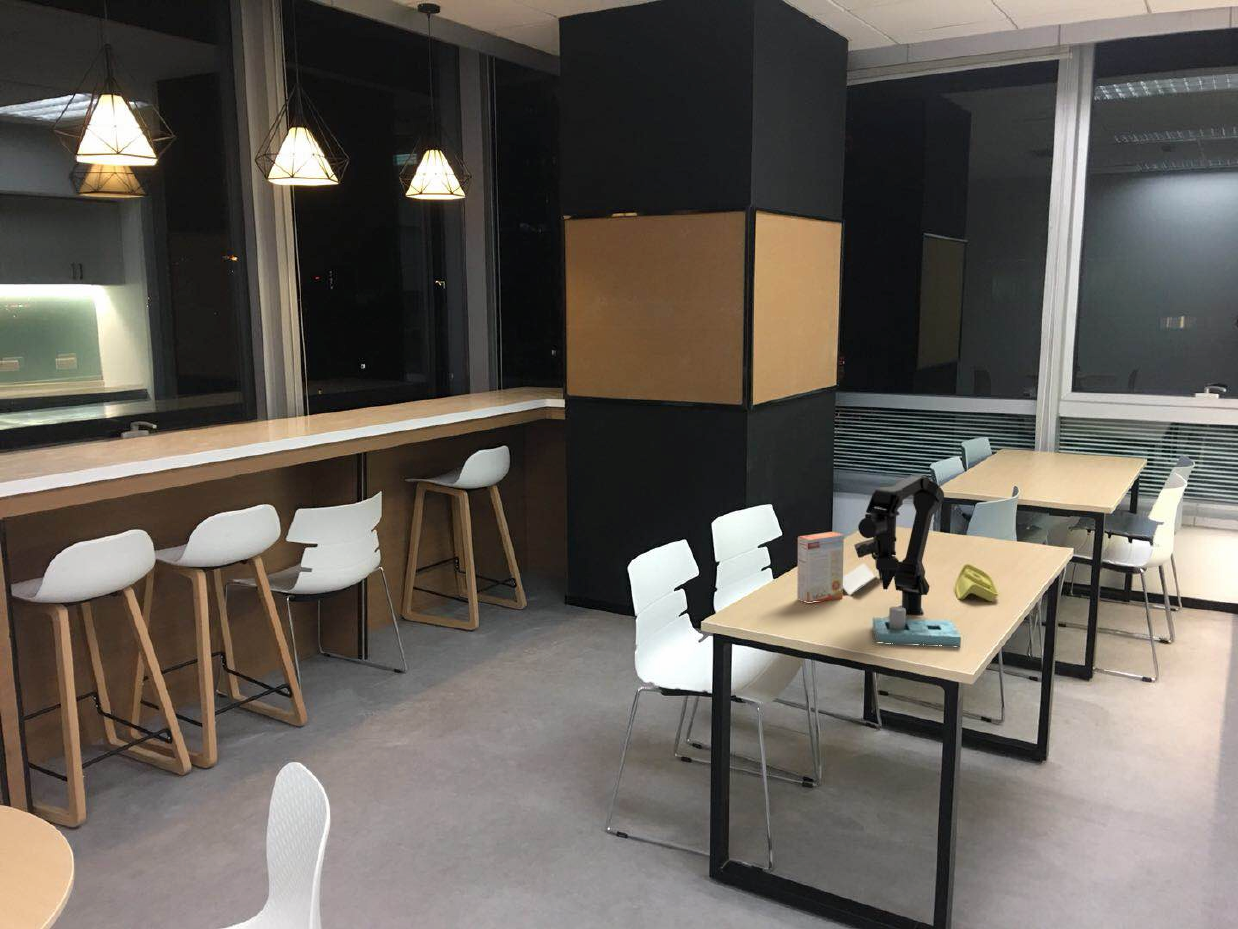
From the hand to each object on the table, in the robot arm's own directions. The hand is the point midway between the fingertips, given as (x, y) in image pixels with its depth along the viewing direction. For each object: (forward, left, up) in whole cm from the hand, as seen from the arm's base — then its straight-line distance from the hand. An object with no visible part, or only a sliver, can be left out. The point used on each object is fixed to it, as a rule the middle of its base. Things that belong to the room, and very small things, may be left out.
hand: (883, 584), depth 282 cm
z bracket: (-41, -4, -12) cm, 43 cm away
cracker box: (-23, -17, -12) cm, 31 cm away
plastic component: (-36, +33, -12) cm, 51 cm away
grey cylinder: (+10, +3, -12) cm, 16 cm away
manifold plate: (+10, +8, -12) cm, 18 cm away
